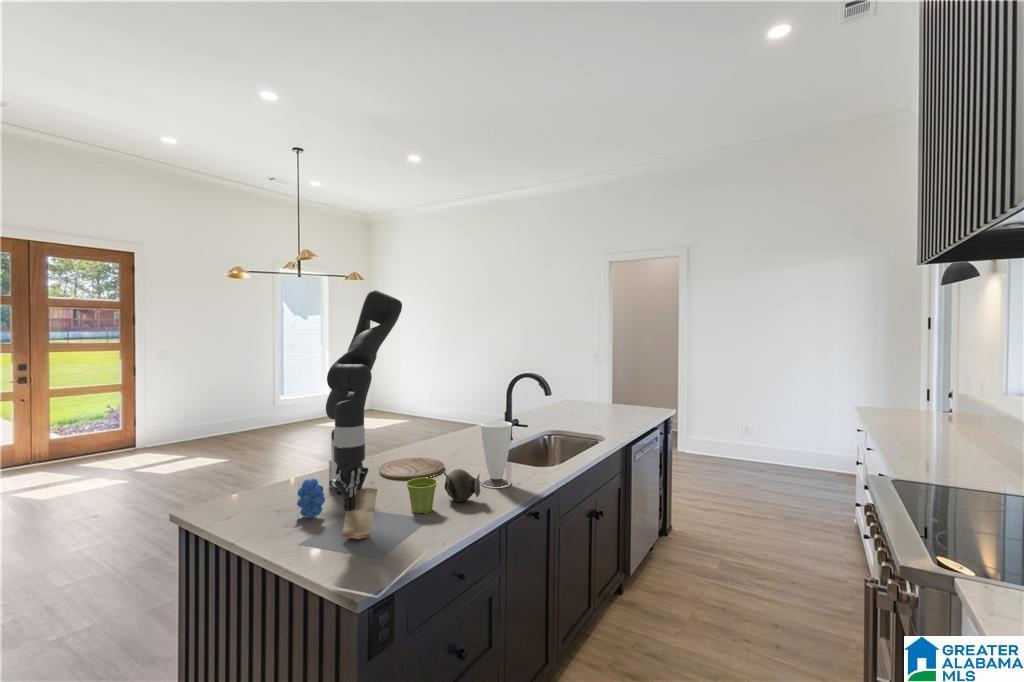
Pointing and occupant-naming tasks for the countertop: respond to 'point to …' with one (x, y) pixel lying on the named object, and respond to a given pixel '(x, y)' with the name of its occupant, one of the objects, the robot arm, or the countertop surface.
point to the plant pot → (421, 494)
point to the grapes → (311, 498)
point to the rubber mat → (382, 538)
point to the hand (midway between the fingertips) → (349, 510)
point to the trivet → (411, 468)
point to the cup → (496, 450)
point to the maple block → (360, 515)
